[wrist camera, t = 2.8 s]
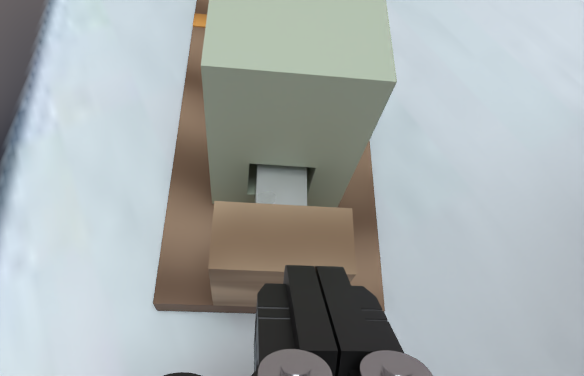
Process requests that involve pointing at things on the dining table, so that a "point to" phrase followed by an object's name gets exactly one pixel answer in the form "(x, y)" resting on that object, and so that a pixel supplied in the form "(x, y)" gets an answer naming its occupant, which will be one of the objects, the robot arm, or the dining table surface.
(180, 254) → the wooden slider rail stand
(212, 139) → the upright sage green block
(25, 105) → the dining table surface
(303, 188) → the grey long bar
